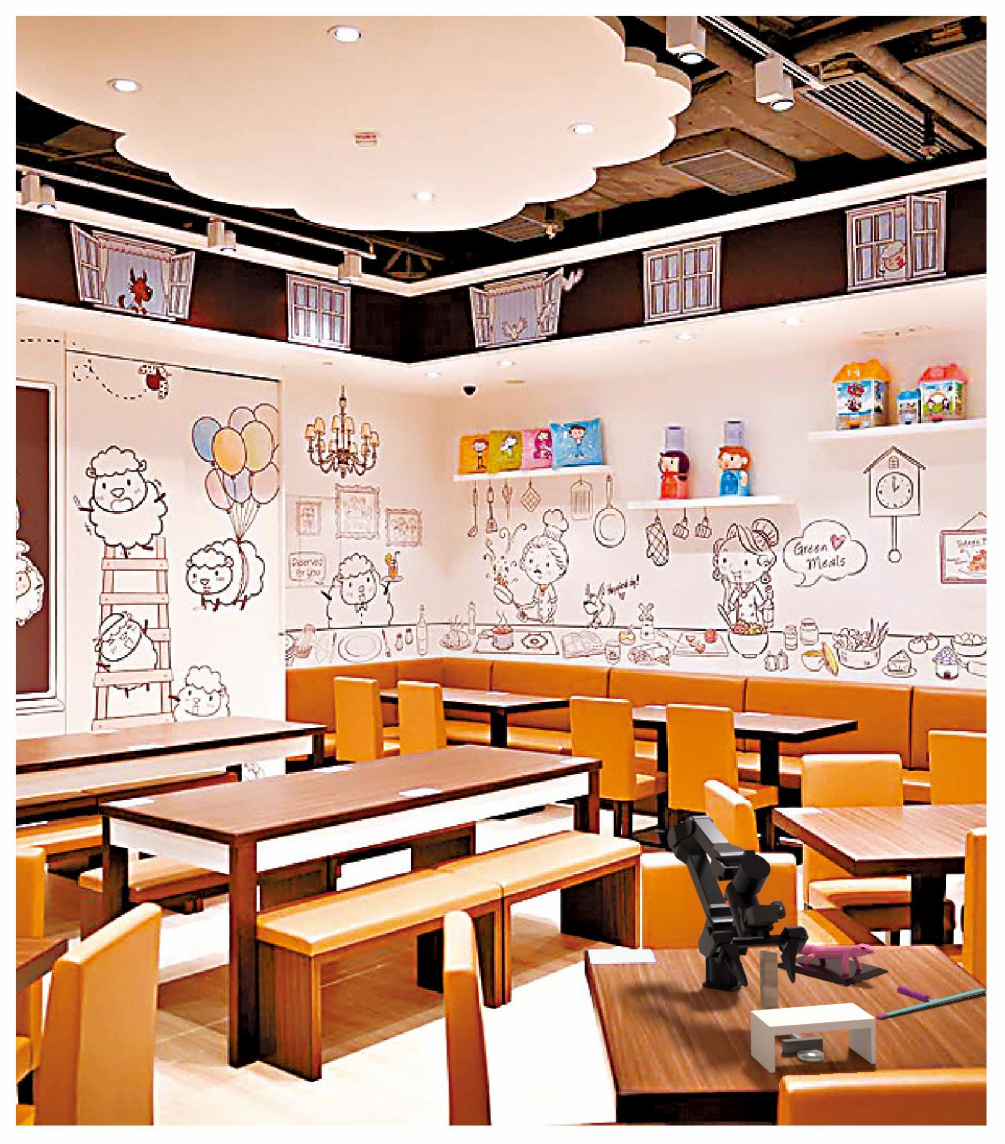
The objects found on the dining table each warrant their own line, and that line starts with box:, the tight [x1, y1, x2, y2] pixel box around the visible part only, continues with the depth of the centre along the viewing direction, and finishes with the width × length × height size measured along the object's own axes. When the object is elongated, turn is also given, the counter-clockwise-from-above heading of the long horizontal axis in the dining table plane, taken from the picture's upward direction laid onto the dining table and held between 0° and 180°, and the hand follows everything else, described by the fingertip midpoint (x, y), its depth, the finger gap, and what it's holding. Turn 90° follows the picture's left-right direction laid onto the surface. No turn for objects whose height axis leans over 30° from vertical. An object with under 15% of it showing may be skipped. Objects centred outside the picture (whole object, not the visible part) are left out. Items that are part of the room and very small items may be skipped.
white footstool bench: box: [750, 1002, 877, 1074], centre depth 205 cm, size 8×19×8 cm, turn 101°
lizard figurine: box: [778, 943, 889, 987], centre depth 255 cm, size 15×20×7 cm
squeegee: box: [875, 985, 987, 1020], centre depth 235 cm, size 29×2×10 cm
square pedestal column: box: [759, 949, 824, 1054], centre depth 216 cm, size 16×7×13 cm, turn 11°
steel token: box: [796, 1049, 825, 1063], centre depth 206 cm, size 4×4×1 cm
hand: (770, 984), depth 222 cm, fingers open, 9 cm apart
